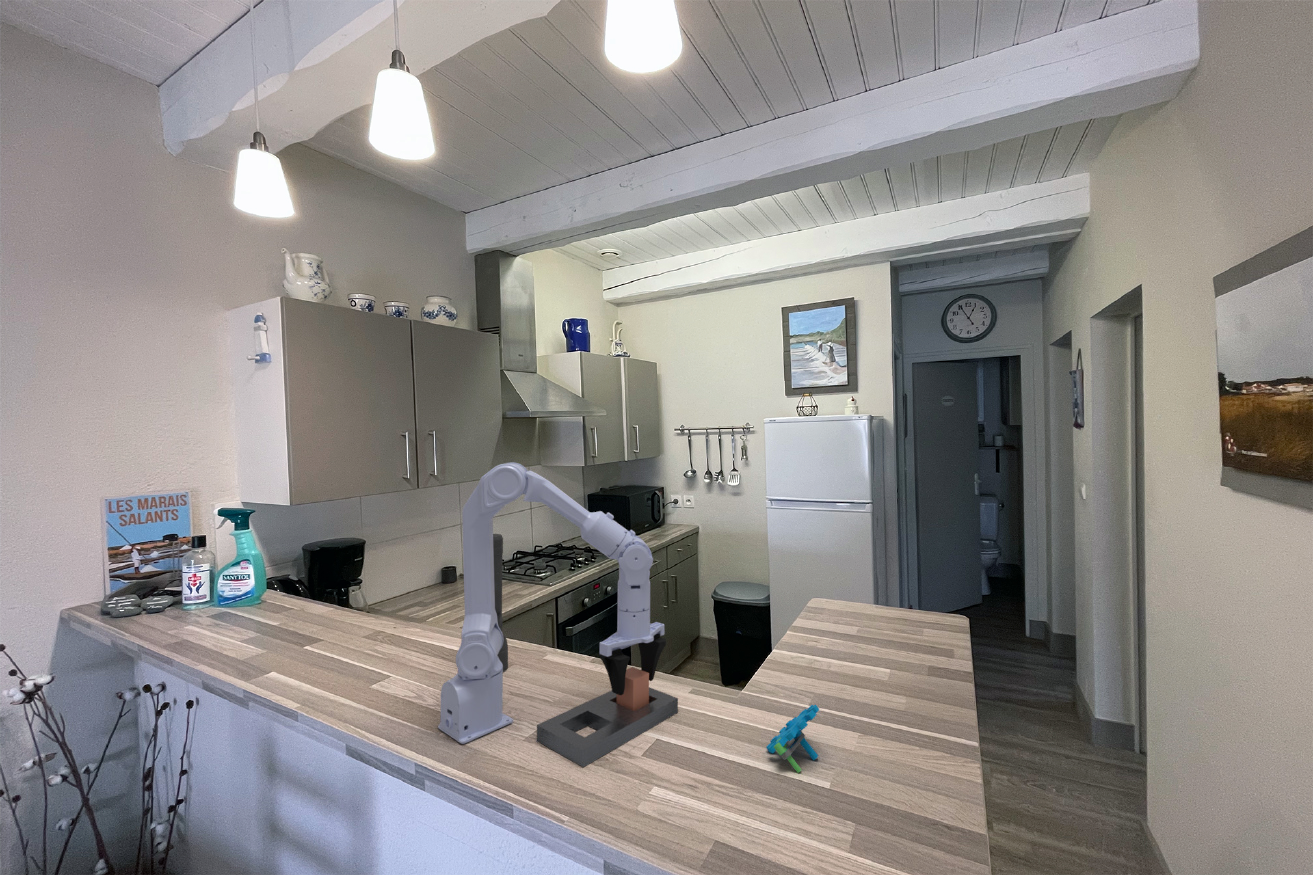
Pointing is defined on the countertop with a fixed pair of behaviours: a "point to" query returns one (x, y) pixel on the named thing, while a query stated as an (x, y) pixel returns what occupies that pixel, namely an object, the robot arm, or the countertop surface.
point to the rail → (603, 725)
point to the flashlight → (499, 594)
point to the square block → (635, 689)
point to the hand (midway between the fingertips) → (633, 685)
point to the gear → (795, 732)
